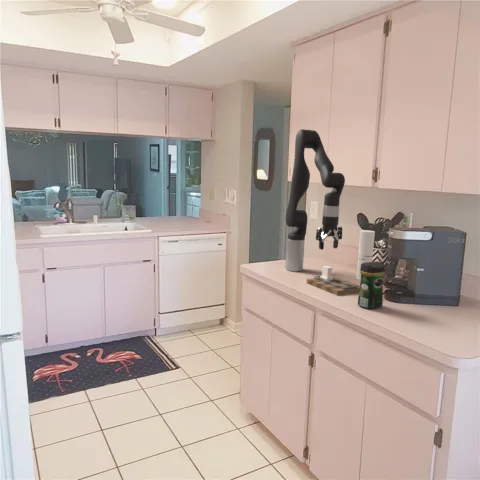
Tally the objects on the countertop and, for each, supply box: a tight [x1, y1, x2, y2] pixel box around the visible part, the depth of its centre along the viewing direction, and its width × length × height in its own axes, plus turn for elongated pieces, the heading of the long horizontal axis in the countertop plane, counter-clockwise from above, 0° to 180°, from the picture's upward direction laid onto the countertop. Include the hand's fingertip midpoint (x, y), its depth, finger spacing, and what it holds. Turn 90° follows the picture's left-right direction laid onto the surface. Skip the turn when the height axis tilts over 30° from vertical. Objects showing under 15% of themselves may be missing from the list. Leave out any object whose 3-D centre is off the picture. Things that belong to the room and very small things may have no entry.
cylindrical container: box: [355, 229, 376, 281], centre depth 209 cm, size 7×7×25 cm
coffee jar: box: [357, 260, 386, 310], centre depth 165 cm, size 10×8×19 cm
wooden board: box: [306, 275, 360, 296], centre depth 193 cm, size 22×16×3 cm
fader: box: [319, 265, 333, 281], centre depth 198 cm, size 5×4×6 cm
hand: (328, 248), depth 196 cm, fingers open, 8 cm apart
